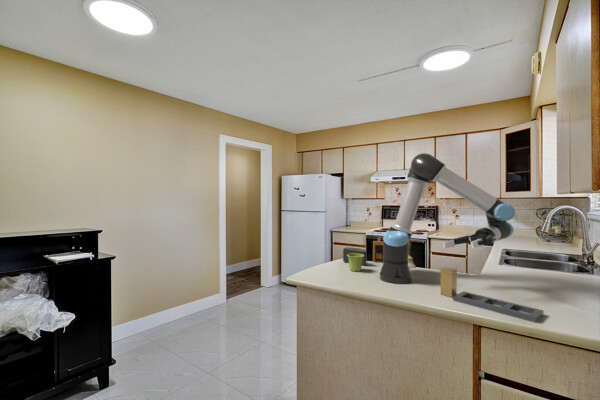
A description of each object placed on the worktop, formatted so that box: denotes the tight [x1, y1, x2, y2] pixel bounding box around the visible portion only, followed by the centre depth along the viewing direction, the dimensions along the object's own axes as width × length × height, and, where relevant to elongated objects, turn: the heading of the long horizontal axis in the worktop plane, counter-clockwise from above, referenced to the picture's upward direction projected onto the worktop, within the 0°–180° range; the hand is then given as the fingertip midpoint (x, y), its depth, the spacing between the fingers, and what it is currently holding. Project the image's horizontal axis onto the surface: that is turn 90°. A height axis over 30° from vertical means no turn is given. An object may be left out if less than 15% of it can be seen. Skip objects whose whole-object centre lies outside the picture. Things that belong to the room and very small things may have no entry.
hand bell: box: [408, 240, 416, 269], centre depth 173 cm, size 8×8×16 cm
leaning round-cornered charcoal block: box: [342, 247, 367, 267], centre depth 178 cm, size 16×5×9 cm, turn 47°
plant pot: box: [347, 253, 364, 273], centre depth 161 cm, size 9×9×9 cm
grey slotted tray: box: [452, 291, 544, 323], centre depth 108 cm, size 26×10×2 cm, turn 39°
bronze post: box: [440, 266, 458, 299], centre depth 121 cm, size 4×4×11 cm
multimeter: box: [366, 230, 387, 263], centre depth 188 cm, size 15×10×20 cm
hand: (457, 245), depth 127 cm, fingers open, 13 cm apart
